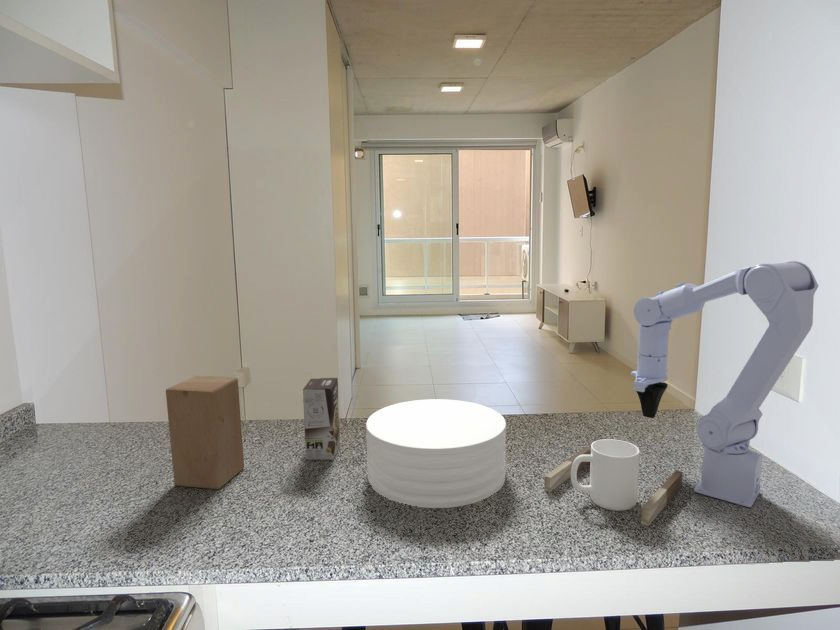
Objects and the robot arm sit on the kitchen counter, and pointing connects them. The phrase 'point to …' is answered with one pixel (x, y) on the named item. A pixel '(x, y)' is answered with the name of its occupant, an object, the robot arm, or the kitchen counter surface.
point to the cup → (610, 474)
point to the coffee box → (321, 418)
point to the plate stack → (436, 452)
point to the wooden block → (205, 431)
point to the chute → (648, 509)
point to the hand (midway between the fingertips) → (649, 416)
